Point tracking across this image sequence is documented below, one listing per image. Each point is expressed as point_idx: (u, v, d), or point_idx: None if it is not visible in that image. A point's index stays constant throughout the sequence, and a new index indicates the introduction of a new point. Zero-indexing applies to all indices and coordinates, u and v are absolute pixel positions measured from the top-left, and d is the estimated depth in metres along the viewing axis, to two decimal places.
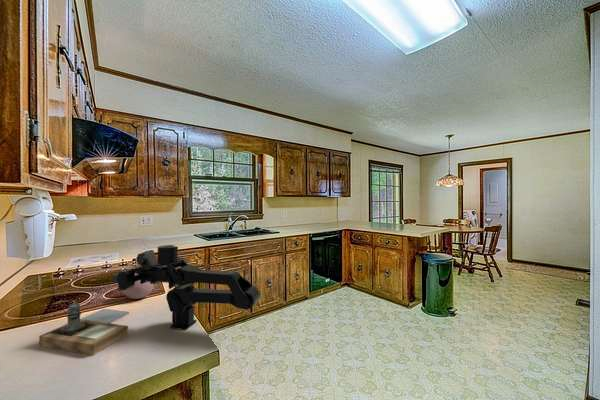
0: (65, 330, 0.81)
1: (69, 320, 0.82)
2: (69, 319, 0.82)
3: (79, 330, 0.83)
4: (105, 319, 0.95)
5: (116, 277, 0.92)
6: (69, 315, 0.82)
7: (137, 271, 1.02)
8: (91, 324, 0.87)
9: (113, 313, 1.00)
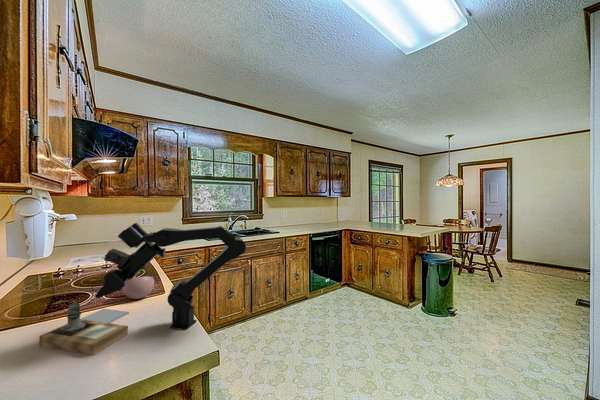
0: (65, 330, 0.81)
1: (69, 320, 0.82)
2: (69, 319, 0.82)
3: (79, 330, 0.83)
4: (105, 319, 0.95)
5: (102, 290, 0.81)
6: (69, 315, 0.82)
7: None
8: (91, 324, 0.87)
9: (113, 313, 1.00)
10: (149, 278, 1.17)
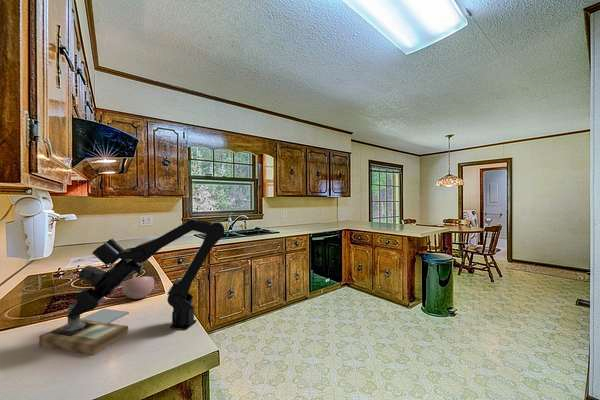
0: (65, 330, 0.81)
1: (69, 320, 0.82)
2: (69, 319, 0.82)
3: (79, 330, 0.83)
4: (105, 319, 0.95)
5: (75, 310, 0.79)
6: None
7: None
8: (91, 324, 0.87)
9: (113, 313, 1.00)
10: (149, 278, 1.17)
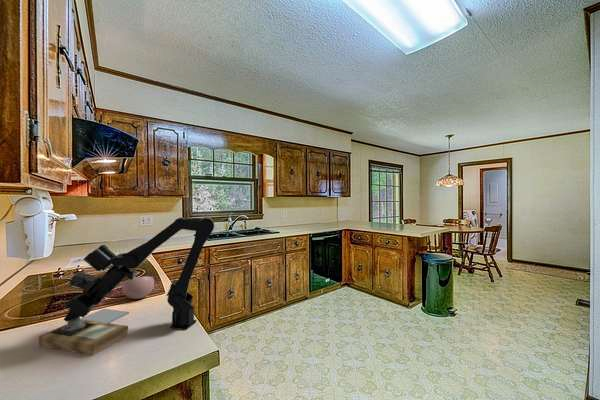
0: (65, 330, 0.81)
1: (69, 320, 0.82)
2: None
3: (79, 330, 0.83)
4: (105, 319, 0.95)
5: (71, 314, 0.81)
6: None
7: None
8: (91, 324, 0.87)
9: (113, 313, 1.00)
10: (149, 278, 1.17)
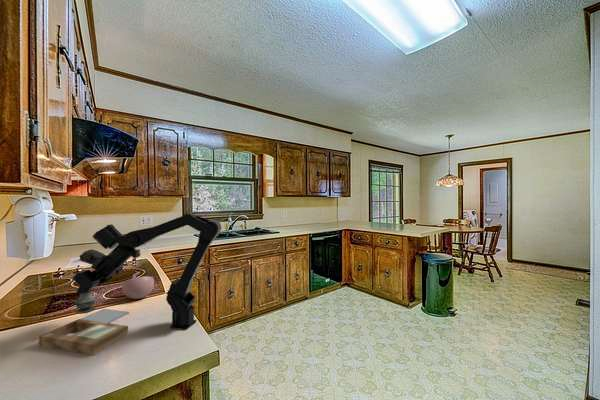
0: (77, 302, 0.87)
1: (81, 293, 0.88)
2: None
3: (89, 303, 0.88)
4: (105, 319, 0.95)
5: (81, 287, 0.87)
6: None
7: None
8: (91, 324, 0.87)
9: (113, 313, 1.00)
10: (149, 278, 1.17)
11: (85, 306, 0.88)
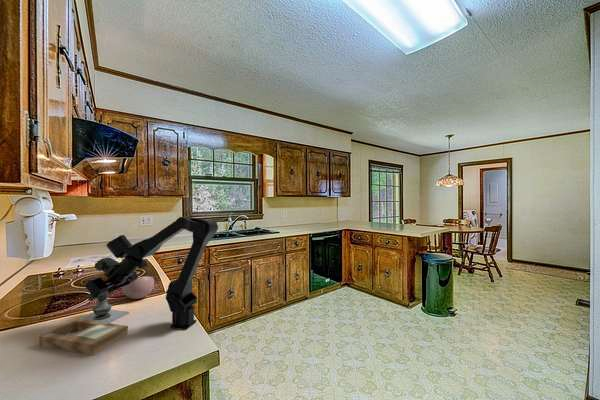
0: (93, 309, 0.95)
1: (97, 301, 0.96)
2: (97, 300, 0.96)
3: (104, 311, 0.95)
4: (105, 319, 0.95)
5: (91, 294, 0.92)
6: (98, 297, 0.96)
7: (112, 289, 1.01)
8: (91, 324, 0.87)
9: (113, 313, 1.00)
10: (149, 278, 1.17)
11: (100, 313, 0.95)
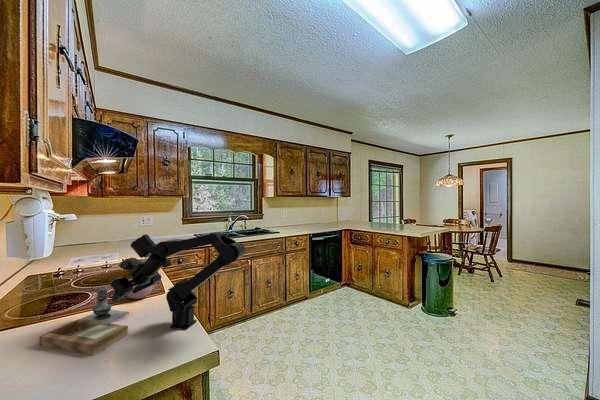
0: (93, 309, 0.95)
1: (97, 301, 0.96)
2: (98, 300, 0.96)
3: (104, 311, 0.95)
4: (105, 319, 0.95)
5: (115, 295, 0.91)
6: (98, 297, 0.96)
7: (137, 289, 1.01)
8: (91, 324, 0.87)
9: (113, 313, 1.00)
10: None
11: (100, 313, 0.95)
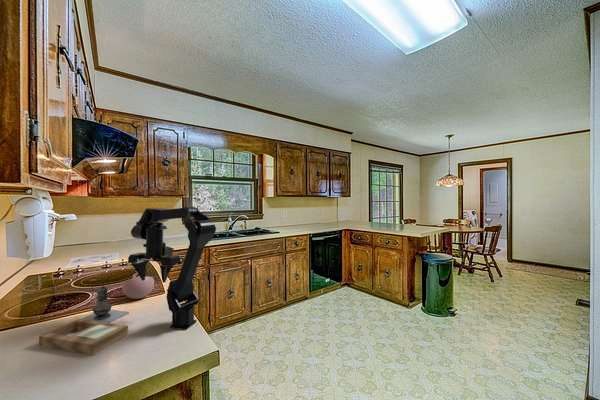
0: (93, 309, 0.95)
1: (97, 301, 0.96)
2: (97, 300, 0.96)
3: (104, 311, 0.95)
4: (105, 319, 0.95)
5: None
6: (98, 297, 0.96)
7: None
8: (91, 324, 0.87)
9: (113, 313, 1.00)
10: (149, 278, 1.17)
11: (100, 313, 0.95)
